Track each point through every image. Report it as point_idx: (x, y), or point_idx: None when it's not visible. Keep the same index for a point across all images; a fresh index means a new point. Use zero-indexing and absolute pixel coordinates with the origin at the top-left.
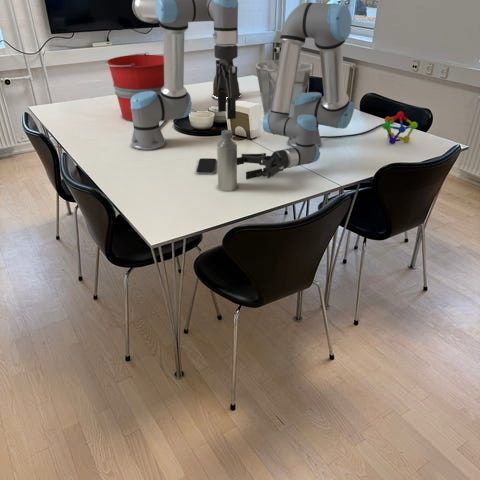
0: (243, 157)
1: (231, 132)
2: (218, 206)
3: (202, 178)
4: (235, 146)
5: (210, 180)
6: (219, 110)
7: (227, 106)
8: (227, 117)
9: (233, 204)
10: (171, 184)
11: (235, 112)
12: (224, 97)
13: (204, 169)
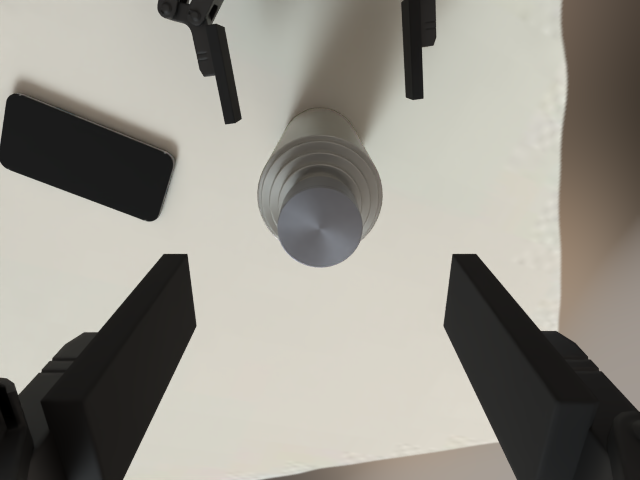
0: (216, 27)
1: (354, 205)
2: (454, 233)
3: (205, 212)
4: (366, 158)
5: (234, 189)
6: (190, 329)
7: (494, 418)
8: (450, 334)
9: (466, 179)
10: (226, 323)
11: (502, 286)
12: (125, 367)
13: (132, 185)
